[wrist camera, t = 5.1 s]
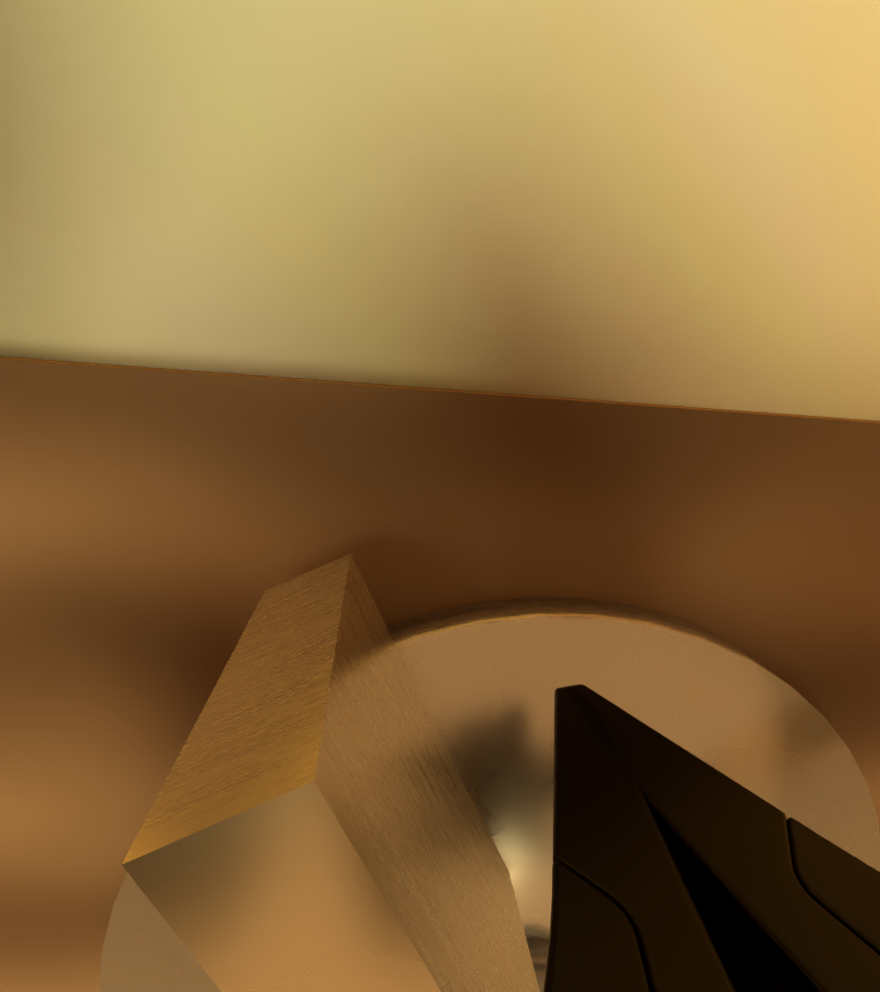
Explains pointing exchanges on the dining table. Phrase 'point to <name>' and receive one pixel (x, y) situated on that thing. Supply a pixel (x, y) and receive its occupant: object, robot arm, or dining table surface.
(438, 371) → the dining table surface
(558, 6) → the dining table surface
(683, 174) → the dining table surface
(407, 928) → the dial
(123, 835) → the board
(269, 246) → the dining table surface
